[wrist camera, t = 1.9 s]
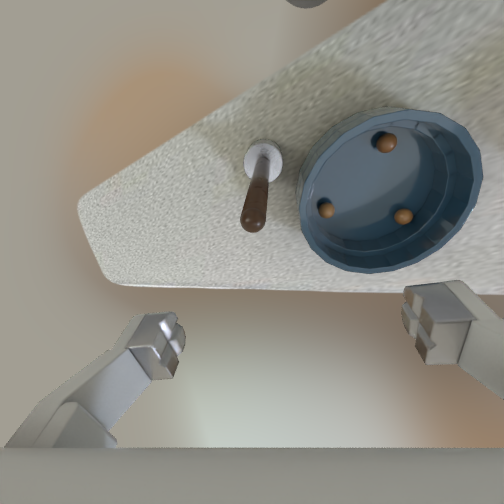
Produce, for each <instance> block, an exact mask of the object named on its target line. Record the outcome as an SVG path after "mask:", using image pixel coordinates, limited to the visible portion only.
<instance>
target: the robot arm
mask: <svg viewBox="0 0 504 504" xmlns="http://www.w3.org/2000/svg"><path fill="white" fill-rule="evenodd" d="M403 296H404V298H405V300H406V302H405V303H404V304H403V305H402V311H401V314H402V320H403V324H404V326H405V329H406V330H407V332H408V334H409V335H410V336H412V337H414V338H415V339H416V343H415V347H416V349H417V350H418V352H419V354H420V356H421V357H422V359H423V361H424V363H425V364H426V365H437V364H438V365H439V364H458V366H459V367H460V368H462V369H463V370H464V371H466V372H467V373H468V374H470V375H471V376H472V377H474V378H475V379H477V380H478V381H479V382H481V383H482V384H483V385H485V386H486V387H487V388H489V389H490V390H491V391H493V392H494V393H495V394H497V395H498V396H499V397H501V398H502V399H503V400H504V318H500V317H499V316H498V315H497V314H496V313H495V312H493V311H492V309H491V308H489V307H488V306H487V305H486V304H485V303H484V302H483V301H482V300H481V299H480V298H479V297H478V296H477V295H476V294H475V293H474V292H473V291H472V290H471V289H470V288H469V287H468V286H467V285H466V284H465V283H464V282H463V281H460V280H454V281H445V282H440V283H430V284H421V285H413V286H406V287H405V289H404V292H403ZM177 320H178V318H177V316H176V314H175V313H174V312H159V313H148V314H137V315H135V316H133V317H132V319H131V320H130V322H129V323H128V325H127V327H126V328H125V330H124V331H123V333H122V334H121V336H120V337H119V339H118V340H117V342H116V343H115V345H114V347H113V348H112V349H111V350H107V351H106V352H105V353H104V354H102V355H101V356H99V357H98V358H96V359H95V360H94V361H93V362H91V363H90V364H89V365H87V366H86V367H85V368H83V369H82V370H81V371H79V372H78V373H77V374H75V375H74V376H73V377H71V378H70V379H69V380H67V381H66V382H65V383H63V384H62V385H61V386H59V387H58V388H57V389H56V390H54V391H53V392H52V393H50V394H49V395H48V396H46V397H45V398H44V399H42V400H41V401H40V402H39V403H38V404H37V405H36V406H35V408H34V409H33V410H32V412H31V413H30V414H29V416H28V417H27V418H26V420H25V421H24V422H23V423H22V425H21V426H20V427H19V428H18V430H17V431H16V432H15V434H14V435H13V436H12V437H11V439H10V440H9V441H8V443H7V444H6V445H5V446H4V448H0V504H504V448H116V445H117V440H116V438H115V437H114V436H113V435H111V434H110V433H109V432H108V431H109V430H110V429H111V428H112V426H113V425H114V424H115V423H116V422H117V421H118V420H119V418H120V417H121V416H122V415H123V414H124V413H125V412H126V410H127V409H128V408H129V407H130V406H131V405H132V404H133V402H134V401H135V400H136V399H137V398H138V397H139V396H140V394H141V393H142V392H143V391H144V390H145V389H146V388H147V386H148V385H149V384H150V383H151V380H162V379H172V378H173V377H174V374H175V371H176V369H177V366H178V363H179V361H178V358H177V356H178V355H179V354H180V353H181V352H183V349H184V346H185V339H186V336H185V332H184V329H183V327H182V326H180V325H179V324H178V323H176V322H177Z"/></svg>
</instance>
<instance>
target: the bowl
mask: <svg viewBox="0 0 504 504" xmlns="http://www.w3.org/2000/svg"><path fill="white" fill-rule="evenodd" d="M385 133H392V134H394V135H395V136H396V138H397V145H396V147H395V148H394V149H393V150H392V151H391V152H389V153H381V152H380V151H378V149H377V147H376V143H377V140H378V138H379V137H380V136H381V135H383V134H385ZM482 180H483V171H482V163H481V154H480V150H479V148H478V147H477V145H476V143H475V142H474V140H473V139H472V137H471V136H470V134H469V133H468V131H467V129H466V128H465V127H463V126H462V125H460V124H458V123H456V122H455V121H453V120H451V119H450V118H448V117H446V116H444V115H443V114H441V113H437V112H429V111H421V110H413V109H404V108H396V107H388V106H384V107H380V108H375V109H371V110H366V111H362V112H358V113H356V114H354V115H352V116H350V117H349V118H347V119H345V120H343V121H342V122H340V123H338V124H336V125H335V126H333V127H332V128H330V129H329V130H328V131H327V132H326V133H325V135H324V136H323V137H322V138H321V139H320V140H319V141H318V142H317V143H316V144H315V145H314V146H313V147H312V148H311V150H310V152H309V154H308V156H307V158H306V159H305V161H304V163H303V165H302V167H301V169H300V172H299V177H298V182H297V187H296V200H297V208H298V214H299V220H300V225H301V230H302V232H303V234H304V236H305V238H306V240H307V242H308V244H309V246H310V248H311V249H312V250H313V251H314V252H315V253H316V254H317V255H319V256H320V257H321V258H322V259H323V260H324V261H325V262H327V263H329V264H331V265H333V266H336V267H338V268H340V269H343V270H345V271H350V272H357V273H365V274H373V273H381V272H390V271H395V270H398V269H401V268H403V267H406V266H409V265H412V264H415V263H418V262H419V261H421V260H423V259H424V258H426V257H428V256H429V255H431V254H432V253H434V252H436V251H437V250H439V249H440V248H442V247H443V246H444V245H445V244H446V243H447V242H448V241H449V240H450V239H451V238H452V237H453V236H454V235H455V234H456V233H457V232H458V231H459V230H460V229H461V228H462V226H463V225H464V223H465V221H466V220H467V218H468V217H469V215H470V213H471V212H472V210H473V209H474V207H475V205H476V203H477V199H478V195H479V191H480V188H481V184H482ZM326 202H328V203H331V204H332V205H333V206H334V208H335V212H334V215H333V216H332V217H330V218H322V217H321V216H320V215H319V212H318V209H319V207H320V205H321V204H323V203H326ZM400 209H409V210H410V211H411V212H412V214H413V219H412V220H411V222H410V223H408V224H405V225H401V224H398V223H397V222H396V221H395V219H394V215H395V213H396V212H397V211H398V210H400Z"/></svg>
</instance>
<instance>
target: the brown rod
mask: <svg viewBox="0 0 504 504" xmlns="http://www.w3.org/2000/svg"><path fill="white" fill-rule="evenodd" d="M243 166H244V170H245V173H246V174H247V176H248V177H249V178H250V179H251V182H250V185H249V189H248V192H247V196H246V199H245V203H244V206H243V210H242V214H241V217H240V222H241V225H242V227H243V228H244V229H245V230H246V231H248V232H251V233H255V232H258V231H260V230H261V229H262V228H263V227H264V225H265V222H266V210H267V198H268V185H269V183H270V182H272V181H274V180H275V179H276V178H277V177H278V176H279V175H280V173H281V171H282V167H283V159H282V152H281V150H280V148H279V146H278V145H277V144H276V143H275V142H273V141H271V140H269V139H260V140H257V141H255V142H254V143H252V144H251V145H250V147H249V148H248V150H247V152H246V154H245V157H244V162H243Z"/></svg>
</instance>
